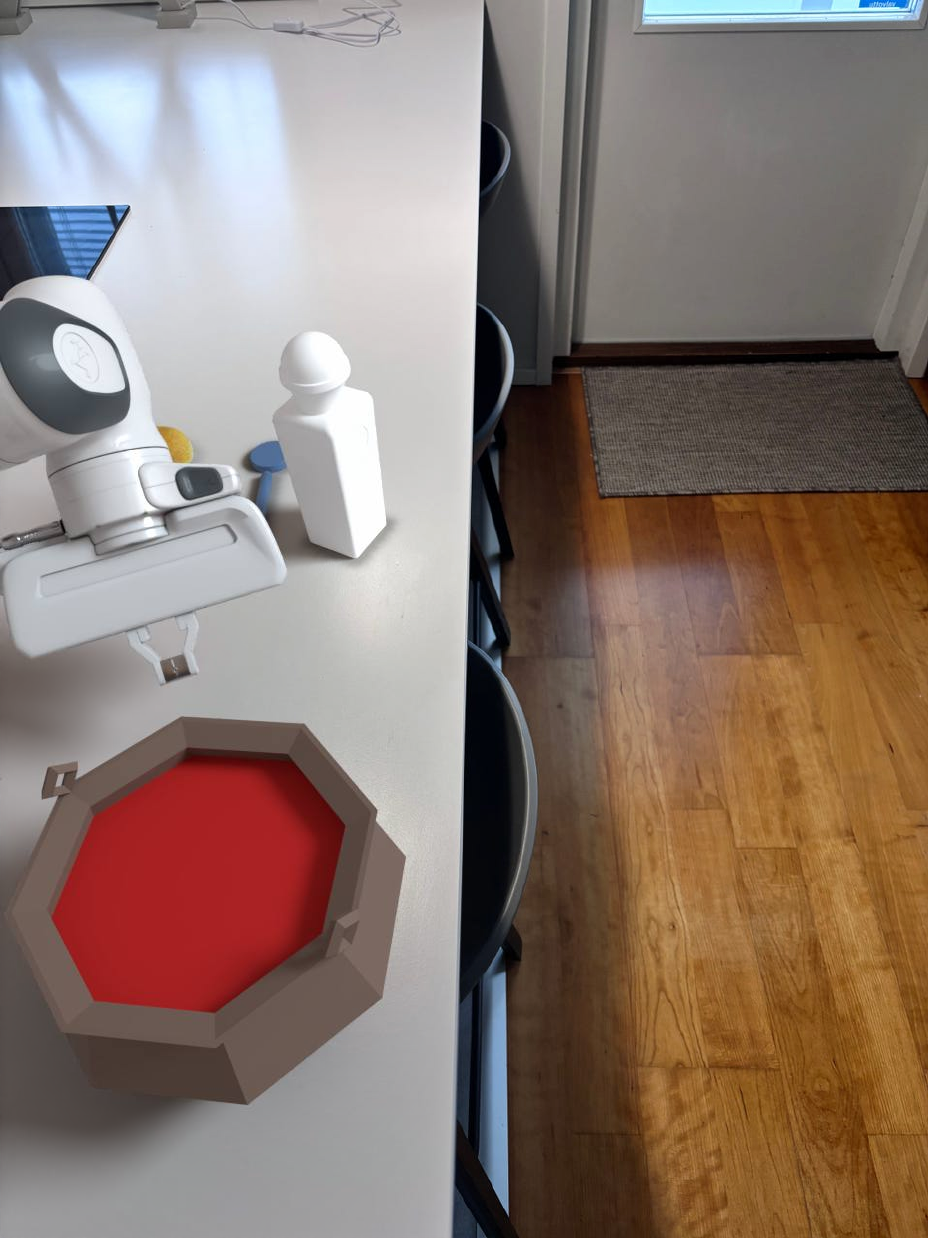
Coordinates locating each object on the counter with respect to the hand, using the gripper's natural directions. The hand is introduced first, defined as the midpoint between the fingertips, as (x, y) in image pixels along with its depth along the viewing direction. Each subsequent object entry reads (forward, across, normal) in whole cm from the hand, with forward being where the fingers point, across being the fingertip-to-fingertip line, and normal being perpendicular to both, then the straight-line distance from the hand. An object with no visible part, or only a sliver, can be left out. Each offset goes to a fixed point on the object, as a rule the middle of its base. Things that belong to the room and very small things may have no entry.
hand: (180, 679), depth 72 cm
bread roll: (-21, +1, +33) cm, 39 cm away
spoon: (-14, +11, +26) cm, 31 cm away
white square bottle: (-8, +18, +20) cm, 27 cm away
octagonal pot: (+19, 0, -7) cm, 21 cm away
